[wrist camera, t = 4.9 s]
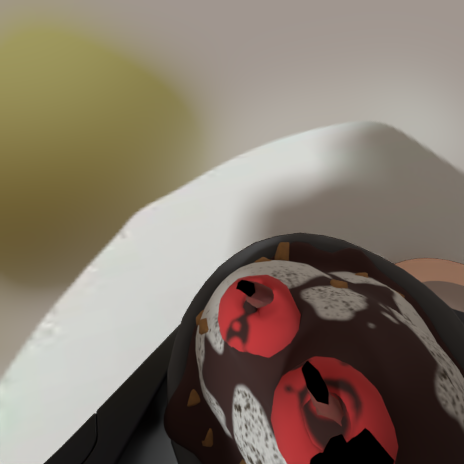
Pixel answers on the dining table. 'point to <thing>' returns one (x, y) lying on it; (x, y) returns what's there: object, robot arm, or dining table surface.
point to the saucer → (439, 278)
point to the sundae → (316, 362)
